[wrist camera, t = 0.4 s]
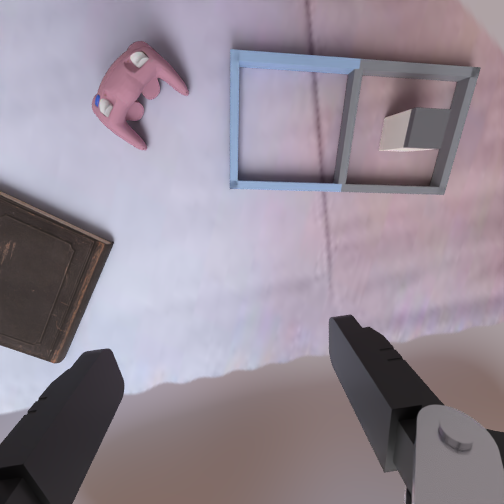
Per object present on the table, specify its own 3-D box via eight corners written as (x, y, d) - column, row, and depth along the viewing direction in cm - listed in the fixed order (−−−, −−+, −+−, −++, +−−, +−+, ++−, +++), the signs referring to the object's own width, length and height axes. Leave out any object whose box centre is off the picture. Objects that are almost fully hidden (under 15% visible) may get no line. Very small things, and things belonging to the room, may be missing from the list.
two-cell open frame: (230, 56, 29) (230, 49, 27) (467, 72, 31) (480, 67, 29) (230, 187, 34) (229, 188, 32) (434, 193, 36) (444, 194, 34)
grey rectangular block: (384, 117, 32) (416, 107, 27) (413, 119, 32) (451, 109, 27) (378, 150, 33) (407, 147, 28) (405, 151, 34) (440, 148, 28)
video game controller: (171, 70, 30) (129, 18, 23) (195, 92, 29) (158, 45, 23) (125, 134, 32) (73, 103, 25) (146, 156, 31) (98, 131, 24)
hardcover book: (-39, 317, 38) (-56, 326, 36) (-5, 184, 32) (-22, 186, 30) (67, 354, 41) (58, 365, 39) (116, 241, 36) (108, 246, 33)
